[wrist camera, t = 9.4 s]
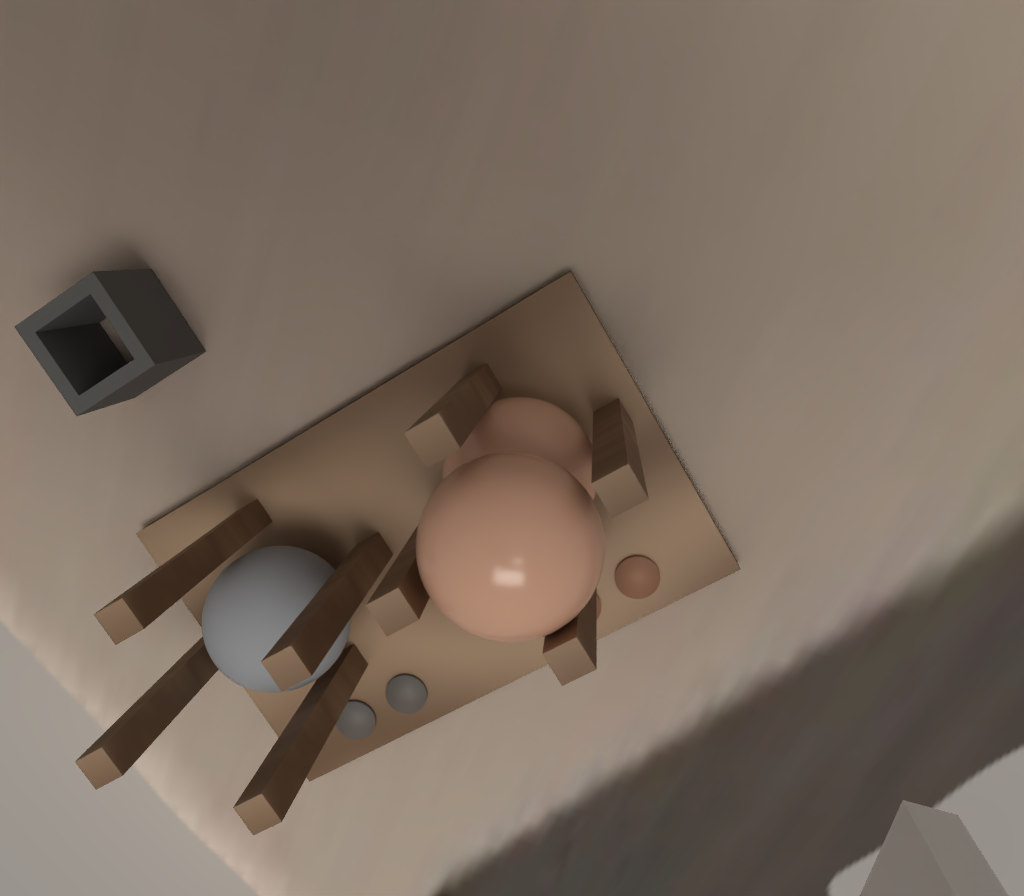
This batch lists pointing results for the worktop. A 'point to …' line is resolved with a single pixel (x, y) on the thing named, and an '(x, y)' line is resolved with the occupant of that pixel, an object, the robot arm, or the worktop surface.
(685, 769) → the worktop surface
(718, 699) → the worktop surface
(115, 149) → the worktop surface
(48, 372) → the stand
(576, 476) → the ball
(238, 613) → the ball
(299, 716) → the rack
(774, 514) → the worktop surface
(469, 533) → the ball loose
